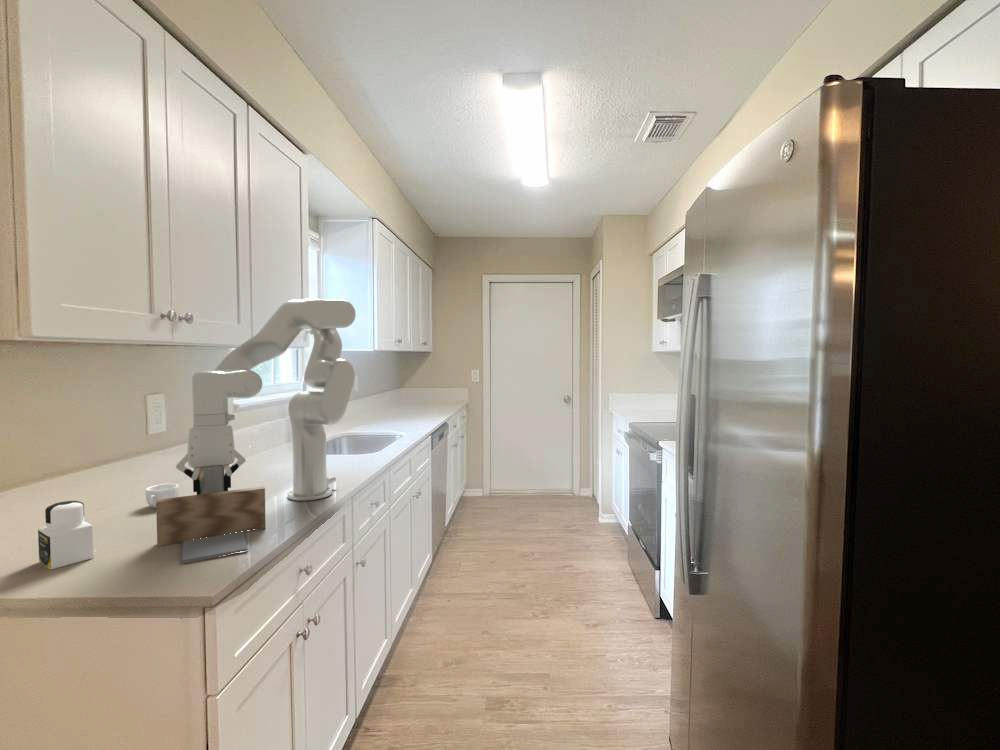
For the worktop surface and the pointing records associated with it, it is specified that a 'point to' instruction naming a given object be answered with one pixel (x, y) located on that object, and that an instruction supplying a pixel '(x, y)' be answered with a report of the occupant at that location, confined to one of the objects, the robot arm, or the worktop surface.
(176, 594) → the worktop surface
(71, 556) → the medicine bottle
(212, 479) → the lotion bottle
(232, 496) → the brown wooden board
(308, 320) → the robot arm
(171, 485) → the teacup
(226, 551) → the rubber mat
